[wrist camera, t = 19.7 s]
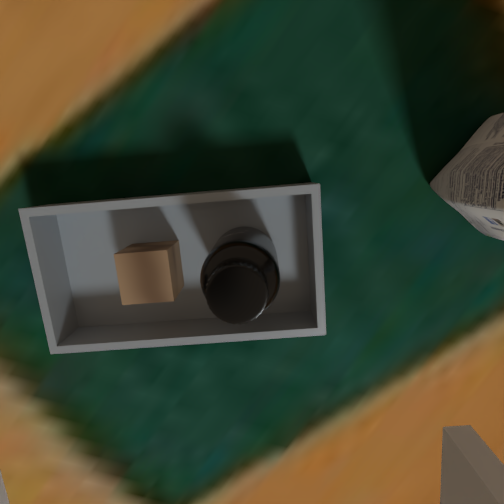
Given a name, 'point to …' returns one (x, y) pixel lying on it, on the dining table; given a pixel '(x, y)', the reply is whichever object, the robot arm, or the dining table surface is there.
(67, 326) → the tote
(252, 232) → the supplement bottle
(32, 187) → the dining table surface
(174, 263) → the walnut cube
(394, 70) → the dining table surface
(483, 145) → the juice carton
